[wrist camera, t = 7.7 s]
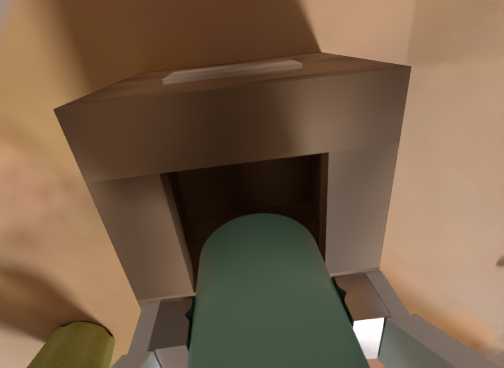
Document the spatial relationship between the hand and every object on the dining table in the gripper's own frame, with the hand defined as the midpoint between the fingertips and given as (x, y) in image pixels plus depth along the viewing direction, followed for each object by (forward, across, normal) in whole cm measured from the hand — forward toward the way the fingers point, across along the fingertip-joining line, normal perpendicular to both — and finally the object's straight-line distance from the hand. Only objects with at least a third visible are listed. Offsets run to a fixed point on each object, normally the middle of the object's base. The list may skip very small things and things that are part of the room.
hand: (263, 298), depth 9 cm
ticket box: (+14, 0, 0) cm, 14 cm away
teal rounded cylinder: (+2, 0, 0) cm, 2 cm away
